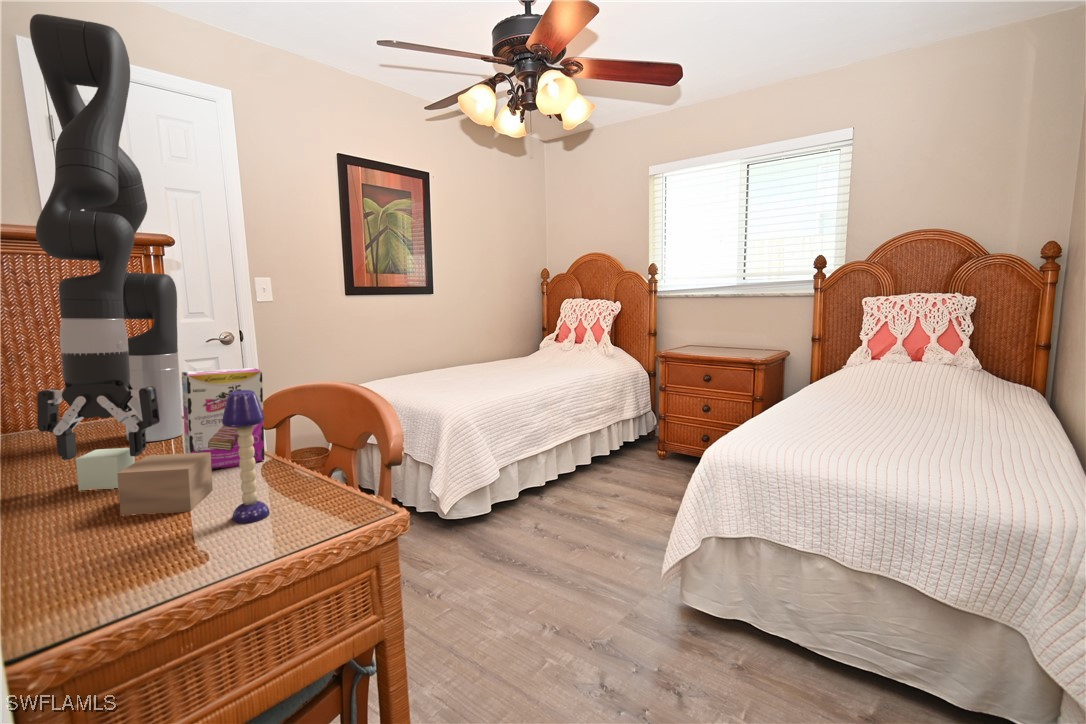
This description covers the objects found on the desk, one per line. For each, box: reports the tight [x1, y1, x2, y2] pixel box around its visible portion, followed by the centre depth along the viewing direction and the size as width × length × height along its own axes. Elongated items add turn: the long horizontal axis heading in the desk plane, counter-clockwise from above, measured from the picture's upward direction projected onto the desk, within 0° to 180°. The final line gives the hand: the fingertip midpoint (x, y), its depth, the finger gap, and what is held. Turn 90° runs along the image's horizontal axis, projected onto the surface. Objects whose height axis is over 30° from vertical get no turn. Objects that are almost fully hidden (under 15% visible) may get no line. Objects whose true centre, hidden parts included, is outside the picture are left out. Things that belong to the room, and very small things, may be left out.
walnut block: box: [117, 452, 214, 517], centre depth 71 cm, size 8×8×6 cm
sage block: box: [75, 447, 136, 491], centre depth 78 cm, size 5×5×5 cm
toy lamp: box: [222, 390, 270, 524], centre depth 66 cm, size 5×5×17 cm
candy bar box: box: [181, 367, 265, 471], centre depth 87 cm, size 11×5×16 cm, turn 135°
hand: (103, 456), depth 77 cm, fingers open, 8 cm apart
